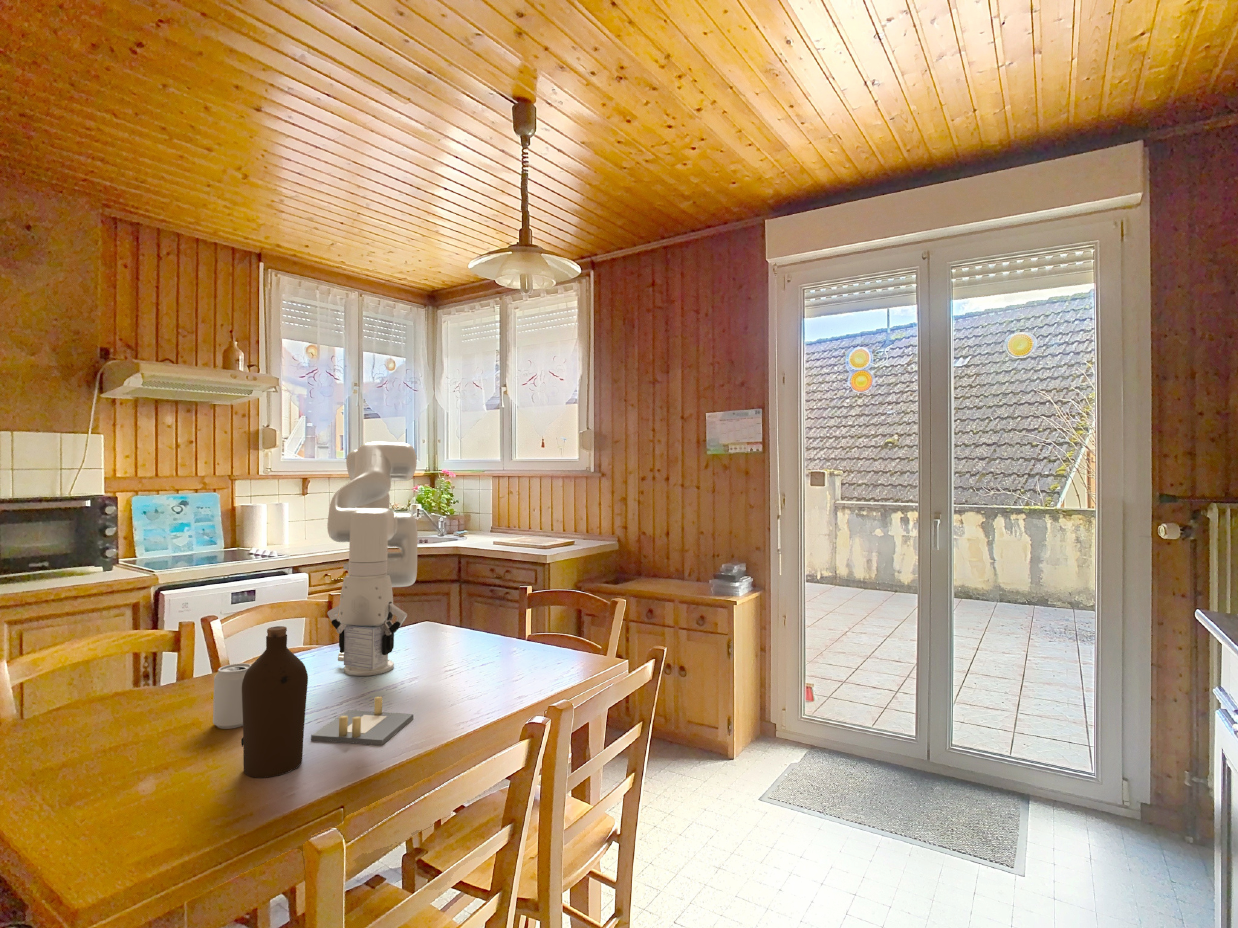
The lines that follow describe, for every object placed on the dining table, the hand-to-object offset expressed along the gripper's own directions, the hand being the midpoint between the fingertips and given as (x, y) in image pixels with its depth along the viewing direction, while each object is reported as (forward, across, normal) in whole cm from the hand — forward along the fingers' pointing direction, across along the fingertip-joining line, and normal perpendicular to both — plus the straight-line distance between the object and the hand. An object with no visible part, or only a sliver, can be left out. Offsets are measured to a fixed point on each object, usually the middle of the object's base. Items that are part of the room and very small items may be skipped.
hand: (366, 652), depth 134 cm
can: (+16, -29, -1) cm, 33 cm away
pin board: (+16, 0, 0) cm, 16 cm away
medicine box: (+3, 0, 0) cm, 3 cm away
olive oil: (+16, -8, -18) cm, 26 cm away
